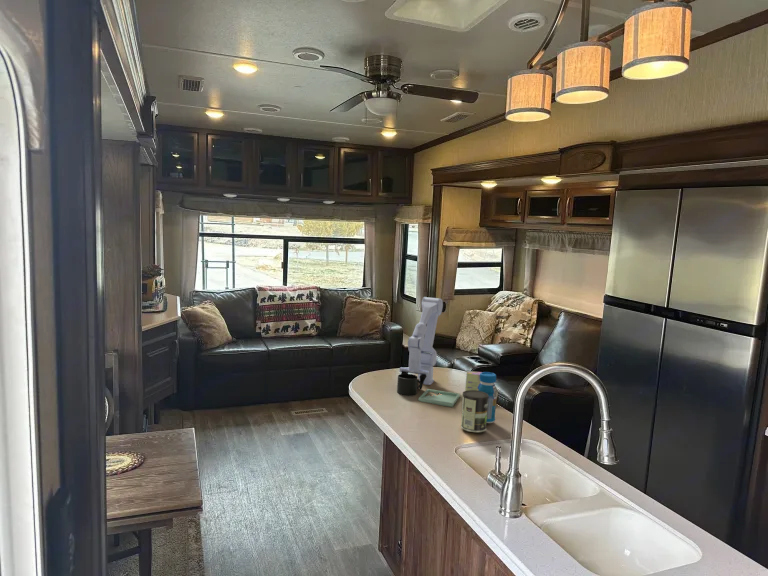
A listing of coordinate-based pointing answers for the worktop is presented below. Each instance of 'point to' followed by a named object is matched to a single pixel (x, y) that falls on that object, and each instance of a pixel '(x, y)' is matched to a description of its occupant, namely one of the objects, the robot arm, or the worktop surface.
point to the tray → (440, 398)
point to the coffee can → (474, 411)
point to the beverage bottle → (489, 393)
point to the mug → (407, 384)
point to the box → (472, 380)
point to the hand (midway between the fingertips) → (413, 387)
